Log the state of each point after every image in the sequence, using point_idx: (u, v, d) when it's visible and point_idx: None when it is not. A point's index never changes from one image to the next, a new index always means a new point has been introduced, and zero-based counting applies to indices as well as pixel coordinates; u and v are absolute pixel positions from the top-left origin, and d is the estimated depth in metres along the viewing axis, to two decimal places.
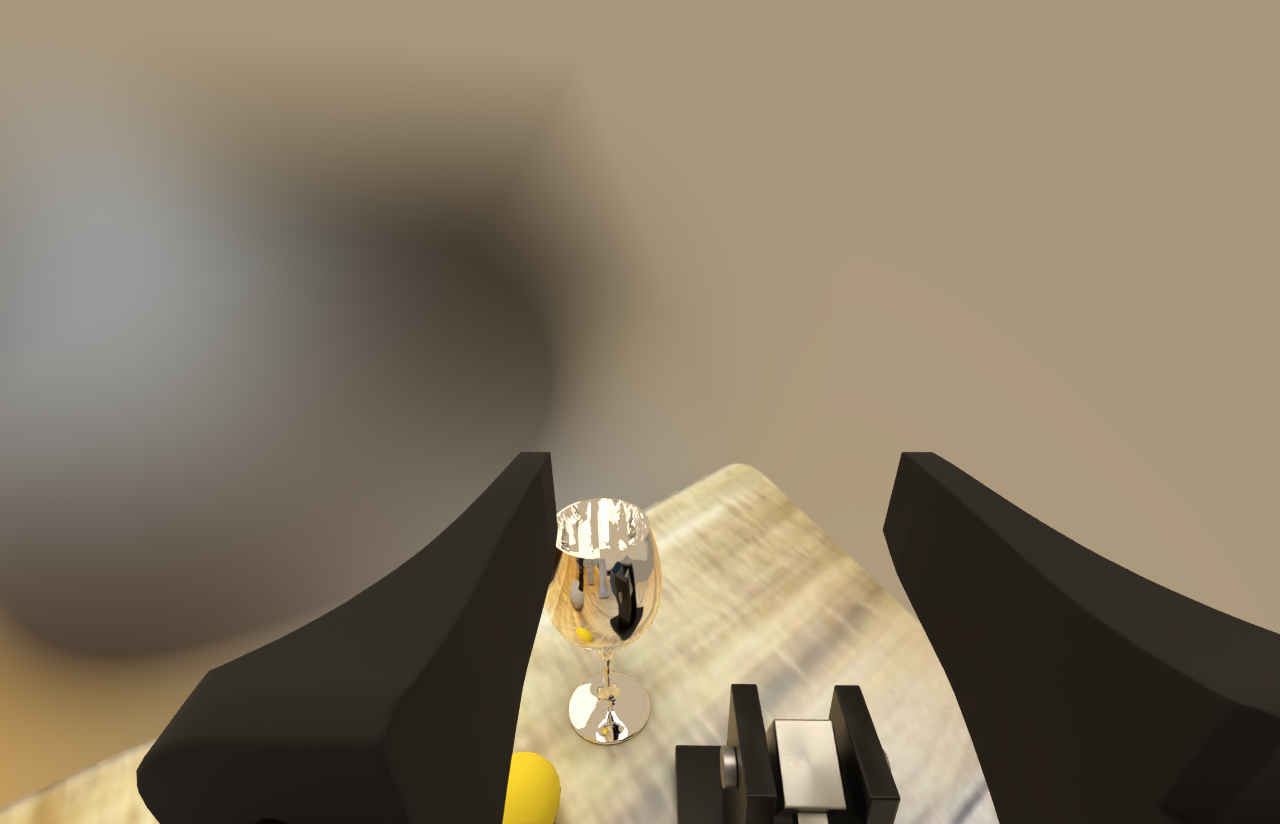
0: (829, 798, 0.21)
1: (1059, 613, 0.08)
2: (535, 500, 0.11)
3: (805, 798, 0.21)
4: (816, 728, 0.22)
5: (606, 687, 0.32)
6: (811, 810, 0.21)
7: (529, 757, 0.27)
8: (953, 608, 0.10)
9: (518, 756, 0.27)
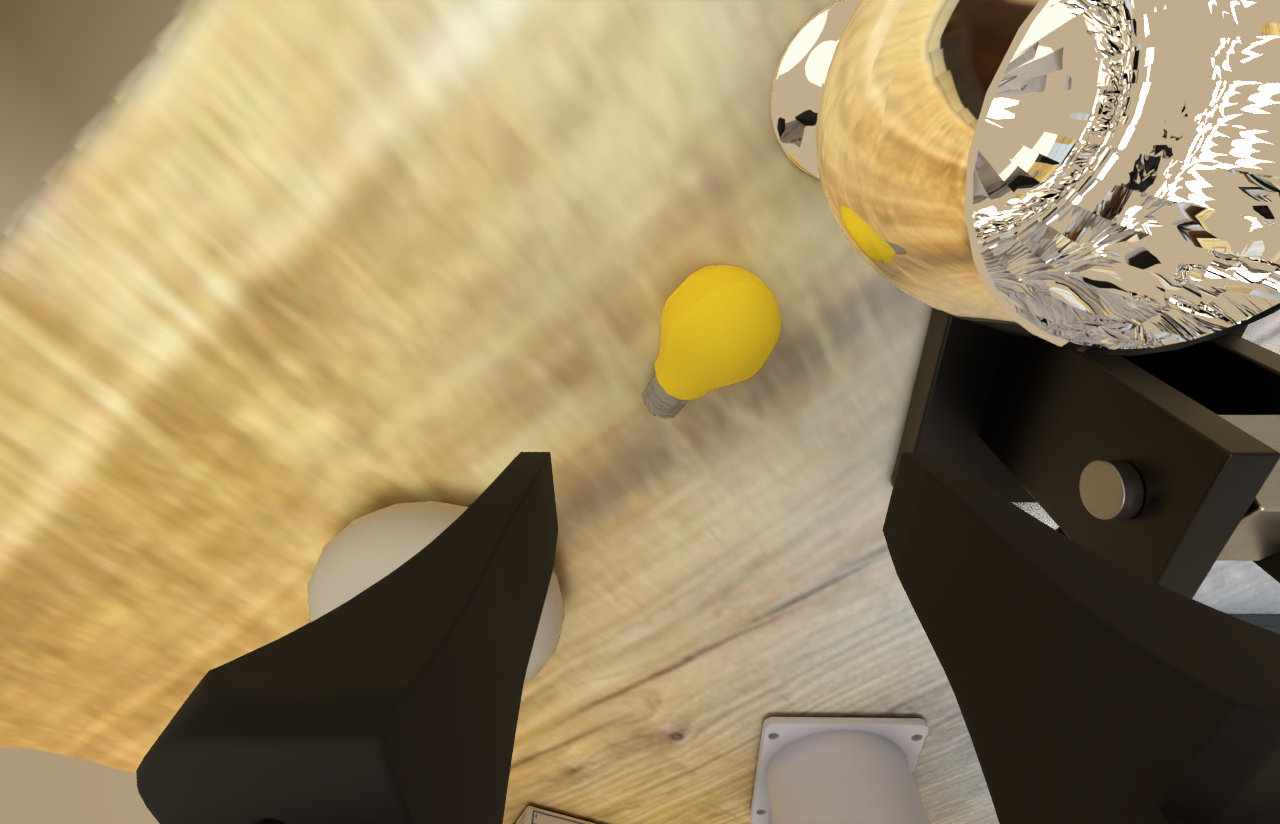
0: (1244, 557, 0.14)
1: (1060, 614, 0.08)
2: (535, 500, 0.11)
3: None
4: None
5: None
6: None
7: (739, 315, 0.16)
8: (953, 608, 0.10)
9: (720, 314, 0.16)
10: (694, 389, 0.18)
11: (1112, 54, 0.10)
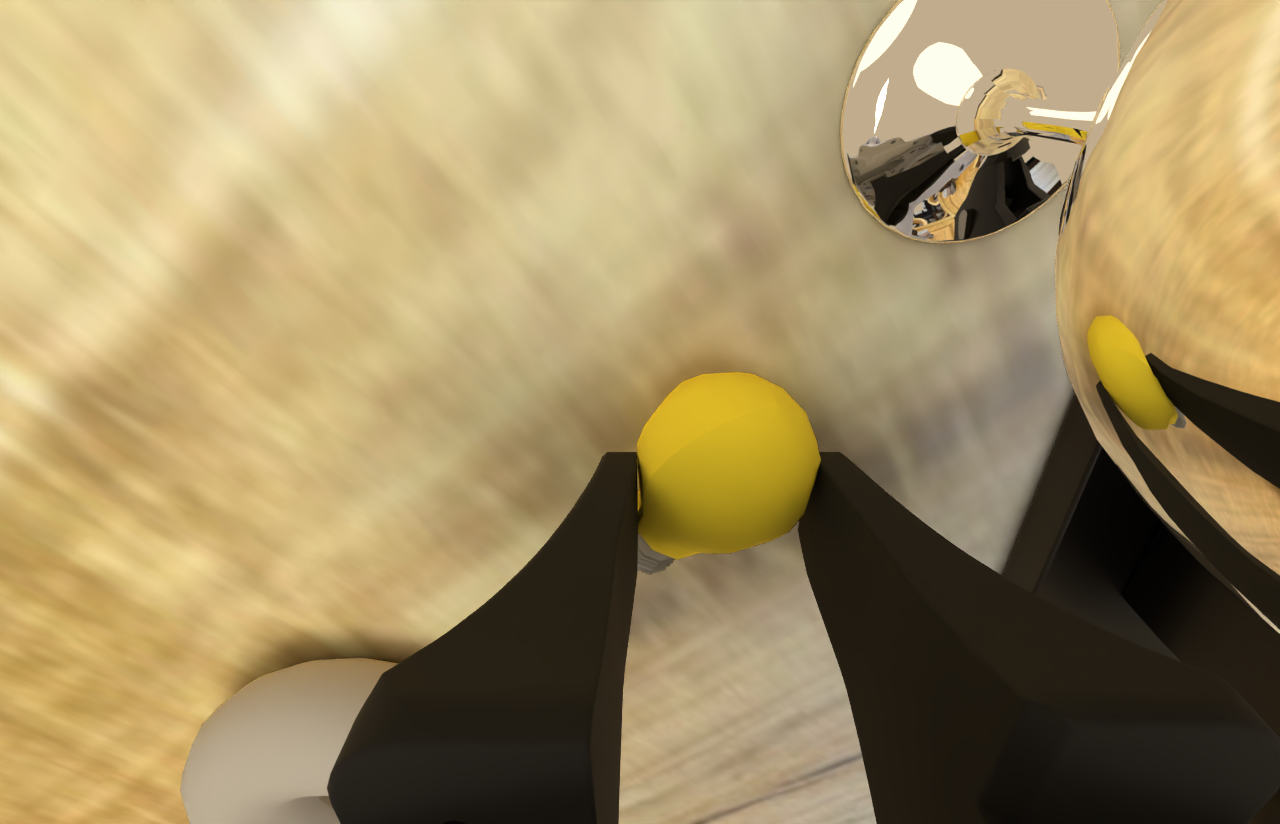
0: None
1: (914, 612, 0.08)
2: (632, 500, 0.11)
3: None
4: None
5: (1021, 133, 0.09)
6: None
7: (755, 466, 0.10)
8: (845, 607, 0.10)
9: (725, 465, 0.10)
10: (690, 550, 0.12)
11: None
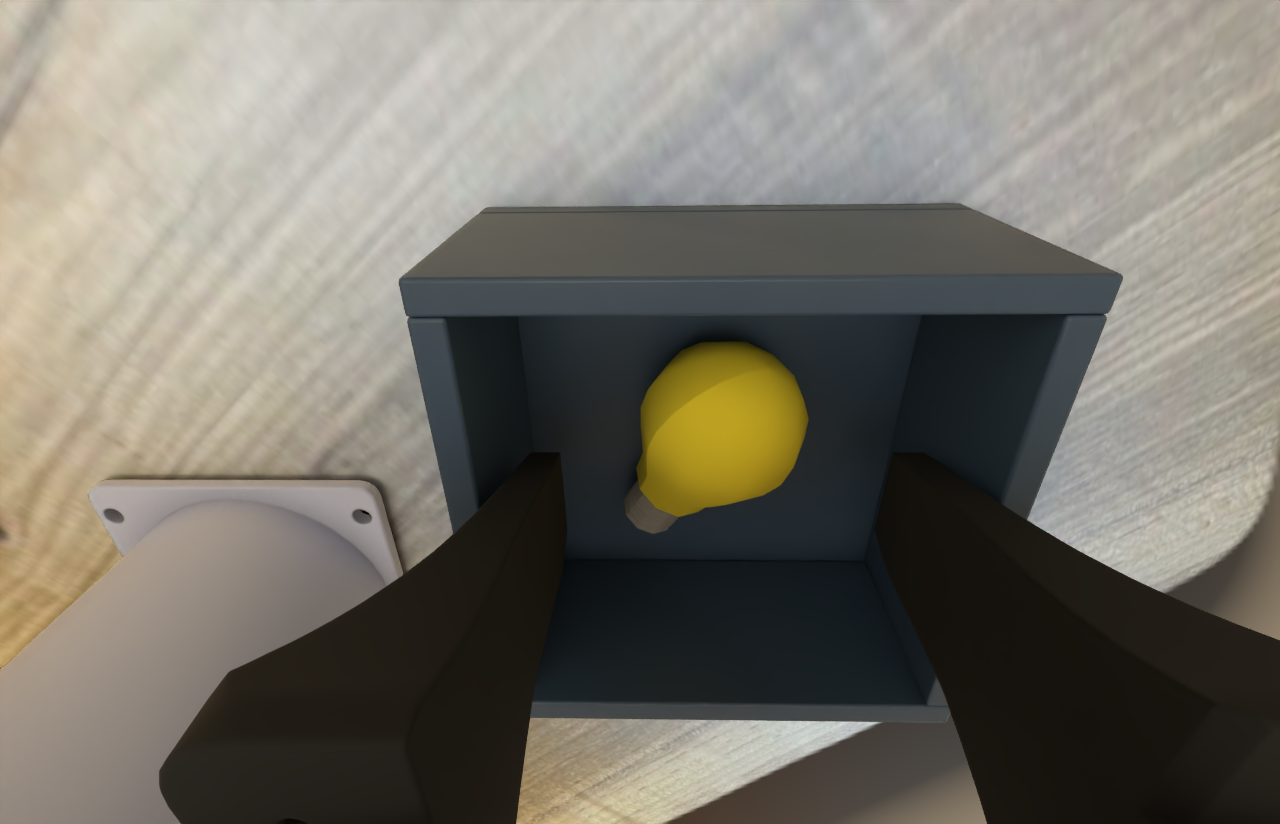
0: None
1: (1044, 612, 0.08)
2: (546, 500, 0.11)
3: None
4: None
5: None
6: None
7: (748, 421, 0.11)
8: (942, 608, 0.10)
9: (721, 421, 0.11)
10: (690, 507, 0.13)
11: None
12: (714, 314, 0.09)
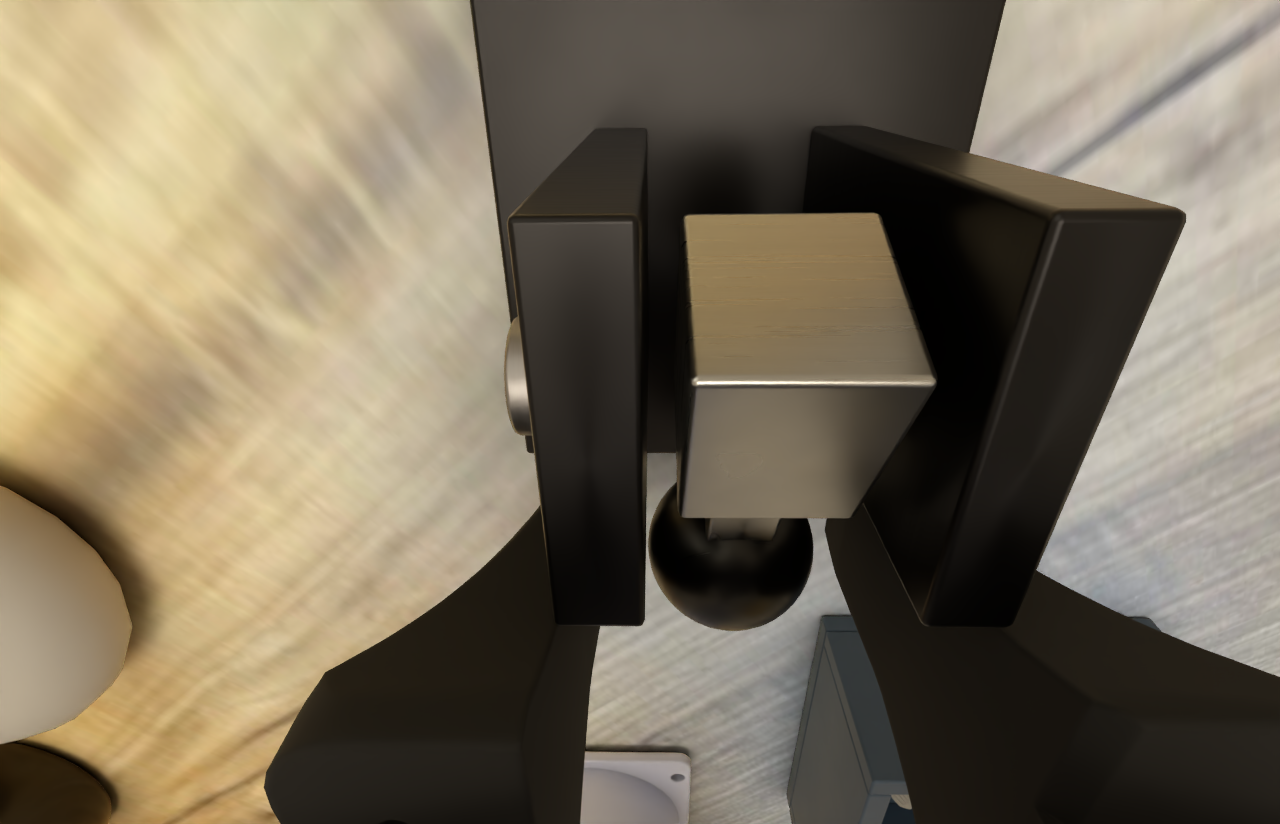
0: (812, 510, 0.07)
1: None
2: None
3: (743, 509, 0.07)
4: (856, 405, 0.05)
5: None
6: None
7: None
8: (879, 607, 0.10)
9: None
10: None
11: None
12: None
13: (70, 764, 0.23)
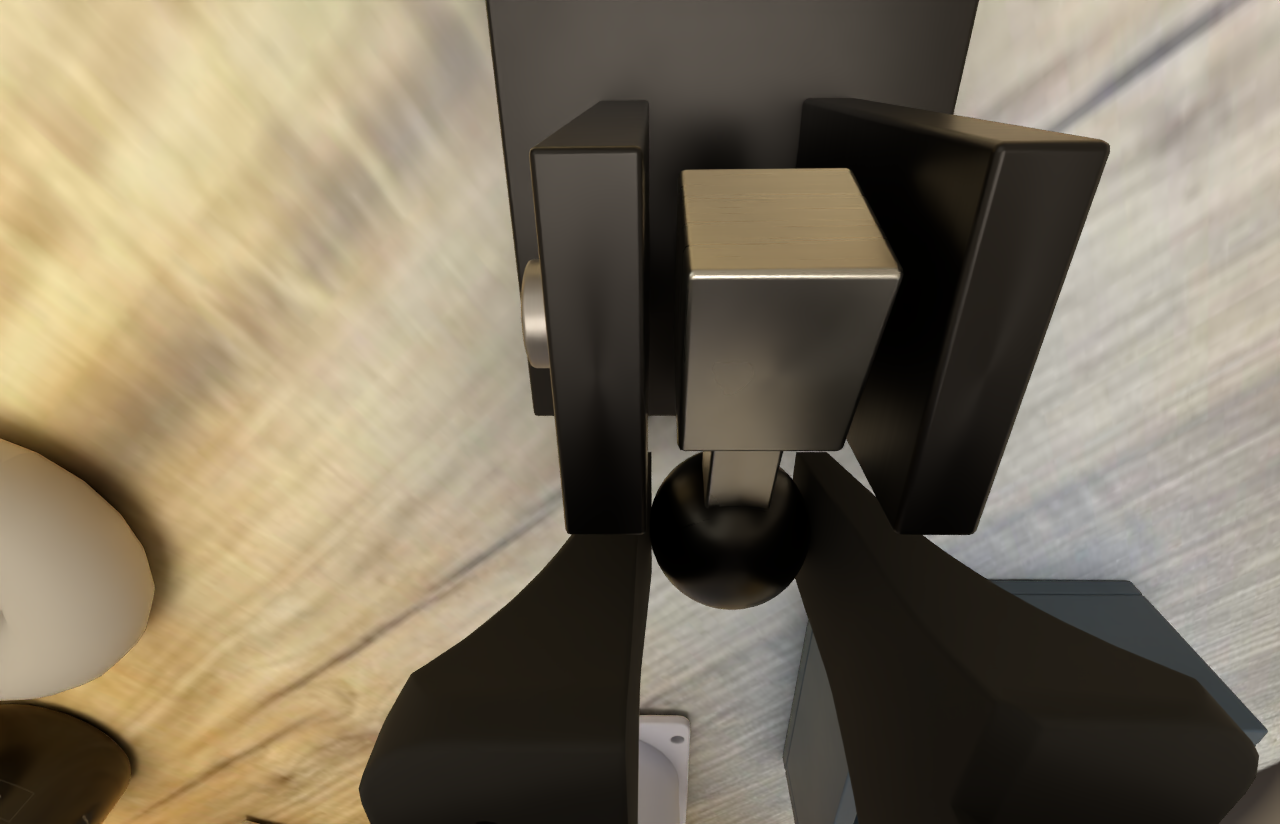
0: (802, 438, 0.08)
1: (893, 612, 0.08)
2: (648, 501, 0.11)
3: (738, 438, 0.08)
4: (833, 300, 0.06)
5: None
6: None
7: None
8: (830, 607, 0.10)
9: None
10: None
11: None
12: None
13: (92, 727, 0.24)
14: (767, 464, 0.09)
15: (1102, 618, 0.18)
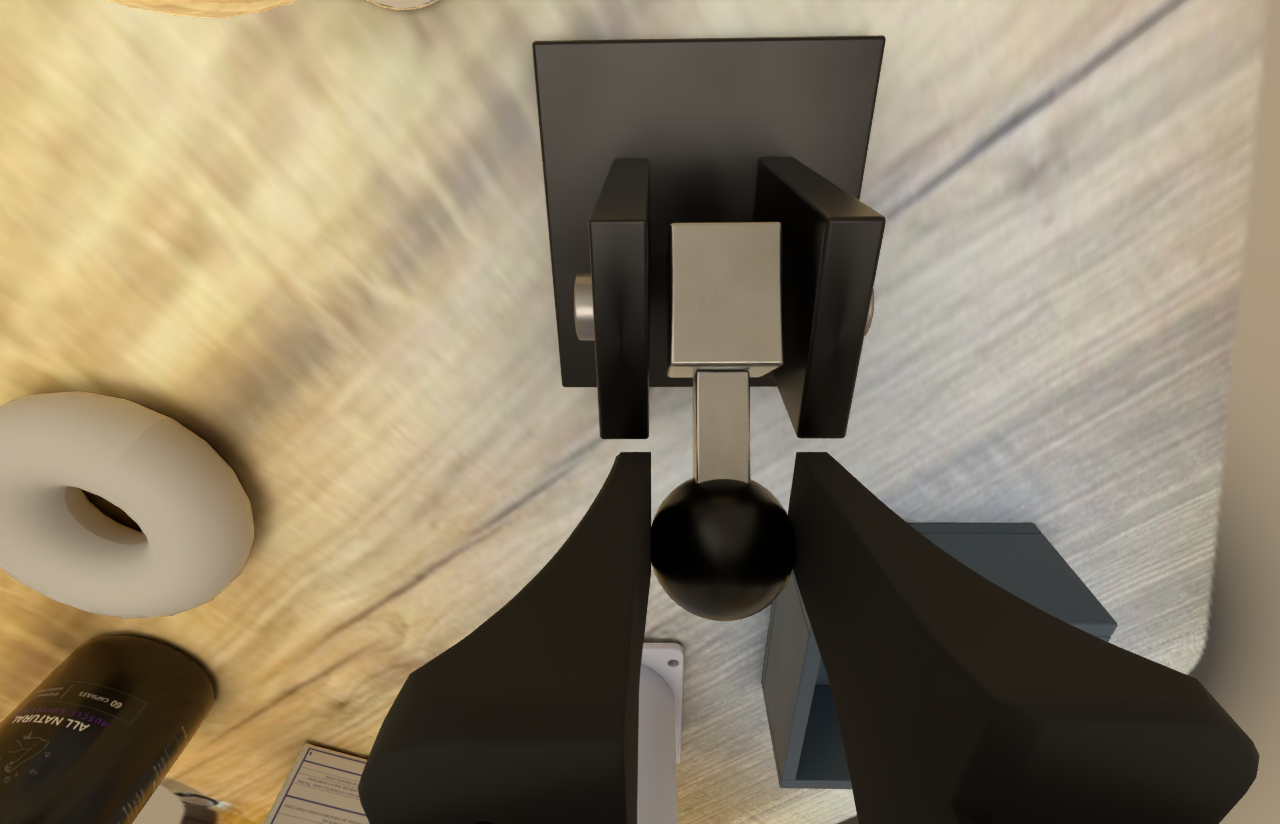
0: (753, 349, 0.11)
1: (894, 612, 0.08)
2: (647, 500, 0.11)
3: (710, 350, 0.11)
4: (749, 236, 0.11)
5: None
6: (720, 368, 0.12)
7: None
8: (830, 607, 0.10)
9: None
10: None
11: None
12: None
13: (185, 656, 0.29)
14: (740, 424, 0.12)
15: (1007, 550, 0.23)
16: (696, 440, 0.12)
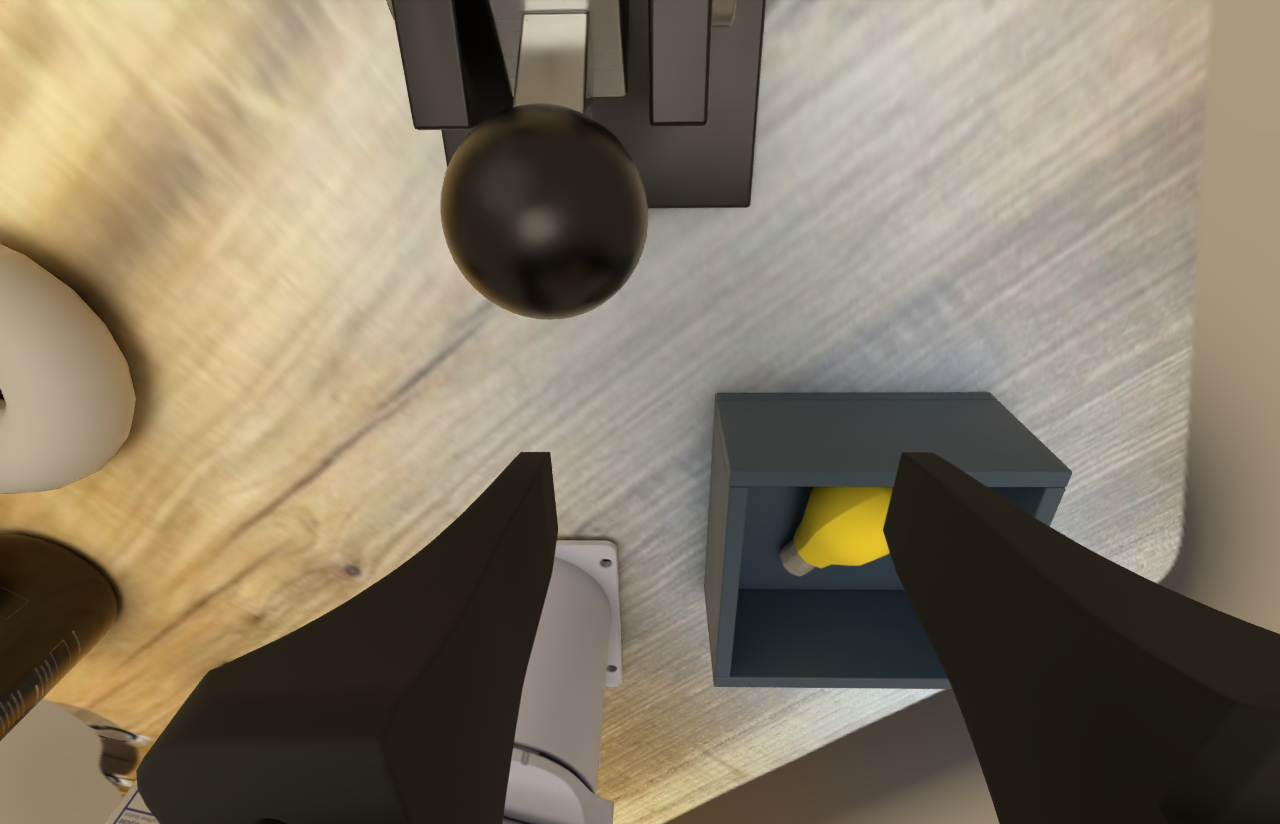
0: None
1: (1059, 613, 0.08)
2: (535, 500, 0.11)
3: None
4: None
5: None
6: None
7: (878, 524, 0.21)
8: (953, 608, 0.10)
9: (863, 523, 0.21)
10: (831, 563, 0.23)
11: None
12: (878, 485, 0.18)
13: (81, 559, 0.27)
14: (572, 61, 0.09)
15: (956, 412, 0.21)
16: (516, 83, 0.09)
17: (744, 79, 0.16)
